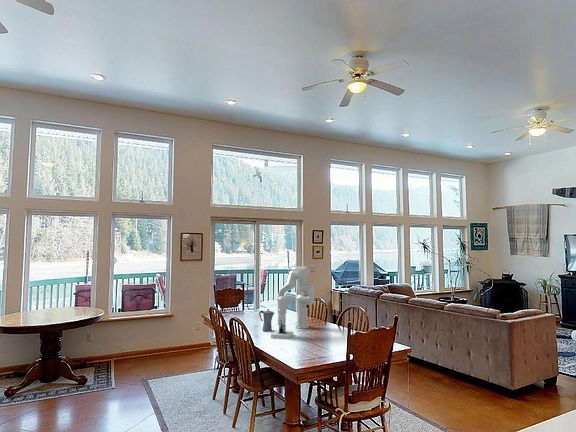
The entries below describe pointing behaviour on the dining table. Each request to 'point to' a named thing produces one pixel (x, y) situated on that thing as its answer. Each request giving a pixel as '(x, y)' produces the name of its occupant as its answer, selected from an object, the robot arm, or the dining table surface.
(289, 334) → the housing
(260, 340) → the dining table surface
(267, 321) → the moka pot
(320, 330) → the dining table surface
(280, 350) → the dining table surface
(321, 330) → the dining table surface
